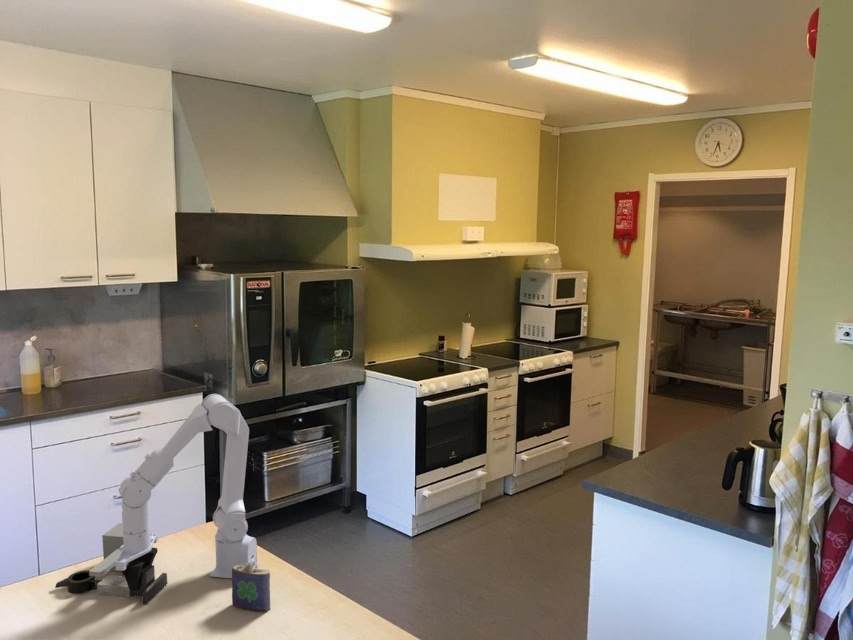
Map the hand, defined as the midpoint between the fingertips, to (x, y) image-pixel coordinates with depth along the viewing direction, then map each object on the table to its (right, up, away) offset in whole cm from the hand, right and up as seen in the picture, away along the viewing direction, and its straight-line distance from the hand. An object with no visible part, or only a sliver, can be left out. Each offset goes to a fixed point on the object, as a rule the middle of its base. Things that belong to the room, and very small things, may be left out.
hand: (139, 584), depth 159 cm
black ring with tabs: (-14, -2, +2) cm, 15 cm away
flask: (+27, -3, -5) cm, 28 cm away
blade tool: (-2, -2, +1) cm, 3 cm away
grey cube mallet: (-9, -1, +7) cm, 12 cm away
